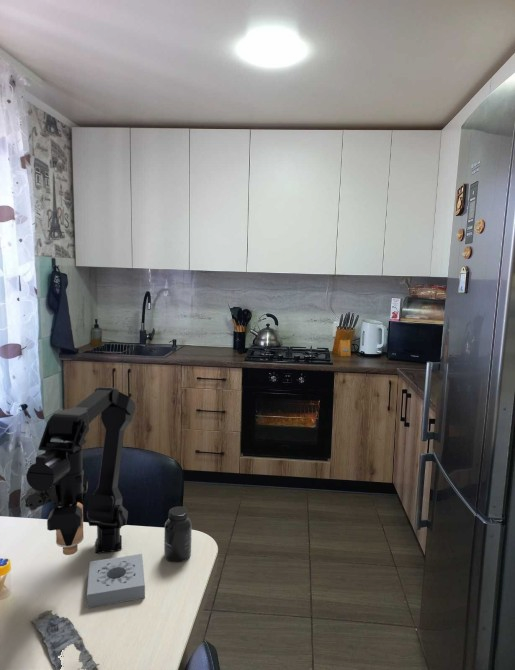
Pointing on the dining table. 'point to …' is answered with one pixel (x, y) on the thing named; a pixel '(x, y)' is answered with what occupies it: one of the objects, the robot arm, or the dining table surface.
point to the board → (115, 580)
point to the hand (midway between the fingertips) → (70, 538)
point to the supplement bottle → (177, 535)
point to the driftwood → (61, 638)
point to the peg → (77, 539)
